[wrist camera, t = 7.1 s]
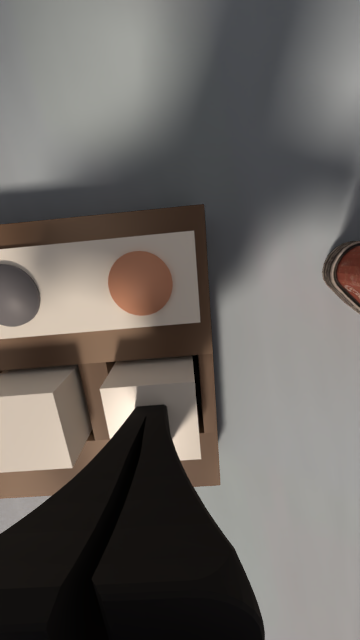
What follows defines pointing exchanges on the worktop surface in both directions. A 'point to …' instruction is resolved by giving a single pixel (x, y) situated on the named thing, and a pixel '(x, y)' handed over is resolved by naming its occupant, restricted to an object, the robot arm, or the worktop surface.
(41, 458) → the key
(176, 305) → the pattern card
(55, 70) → the worktop surface
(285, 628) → the worktop surface
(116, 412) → the key
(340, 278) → the lighter
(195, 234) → the button board
